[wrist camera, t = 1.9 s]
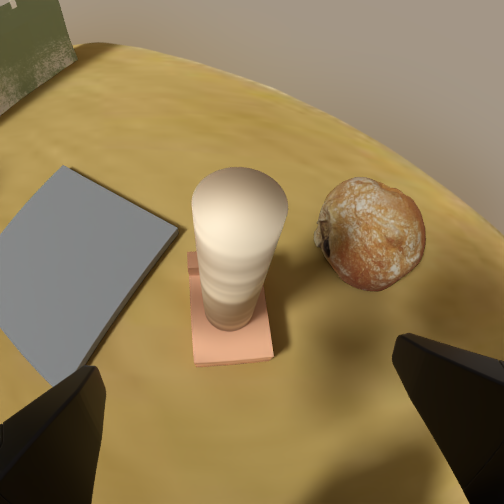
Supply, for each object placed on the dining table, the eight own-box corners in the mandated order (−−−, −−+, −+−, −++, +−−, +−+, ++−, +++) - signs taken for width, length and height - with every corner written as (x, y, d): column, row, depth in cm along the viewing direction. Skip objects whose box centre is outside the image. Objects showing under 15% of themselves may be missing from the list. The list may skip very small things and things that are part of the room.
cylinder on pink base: (268, 360, 20) (337, 294, 8) (196, 367, 19) (162, 307, 8) (255, 268, 23) (290, 133, 12) (190, 272, 22) (170, 134, 11)
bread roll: (304, 226, 30) (288, 183, 23) (389, 187, 29) (395, 137, 22) (344, 314, 26) (342, 296, 19) (437, 267, 24) (463, 233, 17)
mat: (178, 233, 24) (177, 227, 23) (66, 395, 16) (60, 394, 16) (65, 170, 26) (63, 165, 26) (-28, 283, 19) (-32, 280, 18)
